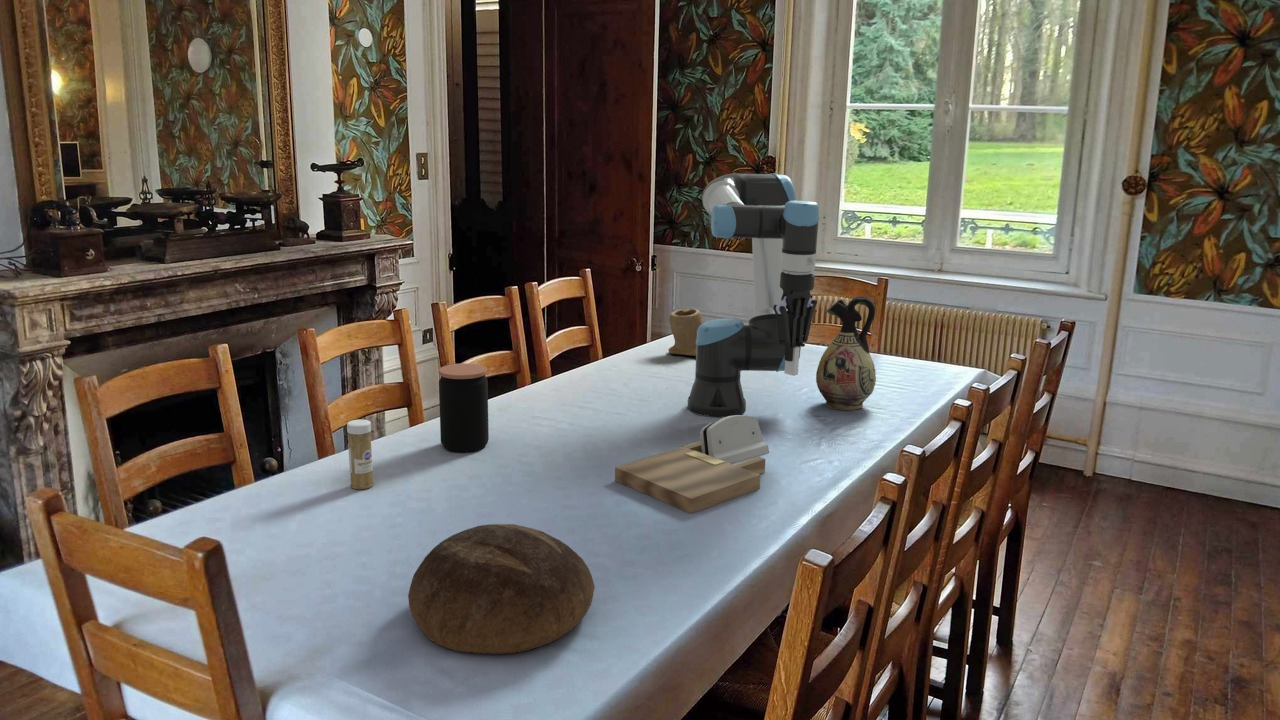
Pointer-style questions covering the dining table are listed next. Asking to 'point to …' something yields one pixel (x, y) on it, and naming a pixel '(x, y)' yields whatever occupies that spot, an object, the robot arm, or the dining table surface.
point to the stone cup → (685, 331)
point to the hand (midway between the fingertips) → (791, 373)
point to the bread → (499, 590)
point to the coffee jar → (463, 407)
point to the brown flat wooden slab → (691, 477)
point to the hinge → (733, 439)
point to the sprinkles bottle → (360, 454)
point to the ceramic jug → (848, 359)
